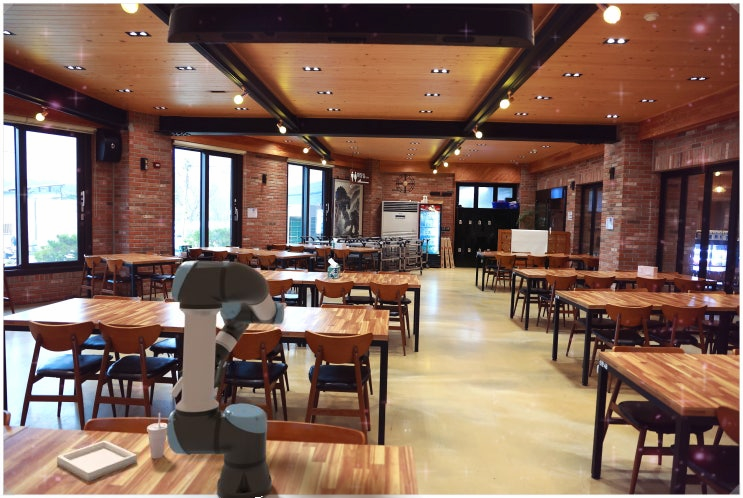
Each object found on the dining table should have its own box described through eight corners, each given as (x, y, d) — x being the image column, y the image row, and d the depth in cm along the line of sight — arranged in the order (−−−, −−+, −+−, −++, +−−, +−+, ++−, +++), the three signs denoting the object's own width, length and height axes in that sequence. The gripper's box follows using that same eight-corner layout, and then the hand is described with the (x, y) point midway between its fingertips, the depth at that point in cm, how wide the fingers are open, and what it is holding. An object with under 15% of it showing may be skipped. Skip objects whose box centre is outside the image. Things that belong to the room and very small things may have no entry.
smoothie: (160, 461, 161) (160, 417, 161) (142, 459, 162) (142, 415, 162) (172, 452, 167) (172, 410, 167) (154, 450, 169) (155, 408, 168)
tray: (136, 462, 160) (136, 454, 160) (88, 481, 148) (88, 473, 147) (105, 447, 170) (105, 440, 170) (57, 463, 157) (57, 456, 157)
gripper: (251, 358, 180) (216, 413, 169) (204, 347, 194) (169, 397, 182) (239, 346, 176) (203, 401, 164) (193, 336, 189) (156, 386, 178)
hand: (185, 399), depth 173 cm, fingers open, 13 cm apart
